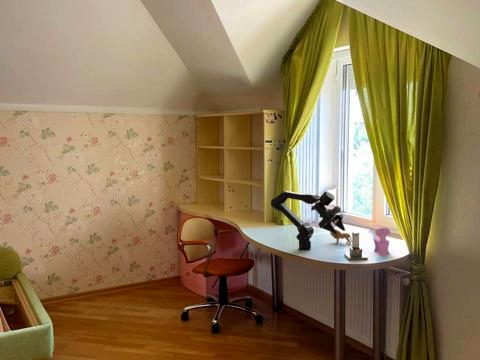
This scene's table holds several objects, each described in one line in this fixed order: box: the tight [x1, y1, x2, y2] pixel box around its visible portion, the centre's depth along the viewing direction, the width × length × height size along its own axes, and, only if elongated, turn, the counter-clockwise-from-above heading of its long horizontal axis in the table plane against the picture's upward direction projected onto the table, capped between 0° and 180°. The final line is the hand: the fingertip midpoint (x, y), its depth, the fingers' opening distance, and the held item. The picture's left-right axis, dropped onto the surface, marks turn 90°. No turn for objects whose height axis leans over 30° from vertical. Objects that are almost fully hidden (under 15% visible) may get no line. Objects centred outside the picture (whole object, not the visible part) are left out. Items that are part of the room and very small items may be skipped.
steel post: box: [351, 231, 360, 249], centre depth 251 cm, size 4×4×12 cm
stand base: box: [343, 246, 369, 262], centre depth 252 cm, size 10×10×6 cm
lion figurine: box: [329, 228, 352, 246], centre depth 286 cm, size 15×5×9 cm, turn 67°
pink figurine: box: [373, 227, 391, 256], centre depth 260 cm, size 8×9×15 cm
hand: (340, 232), depth 258 cm, fingers open, 9 cm apart
